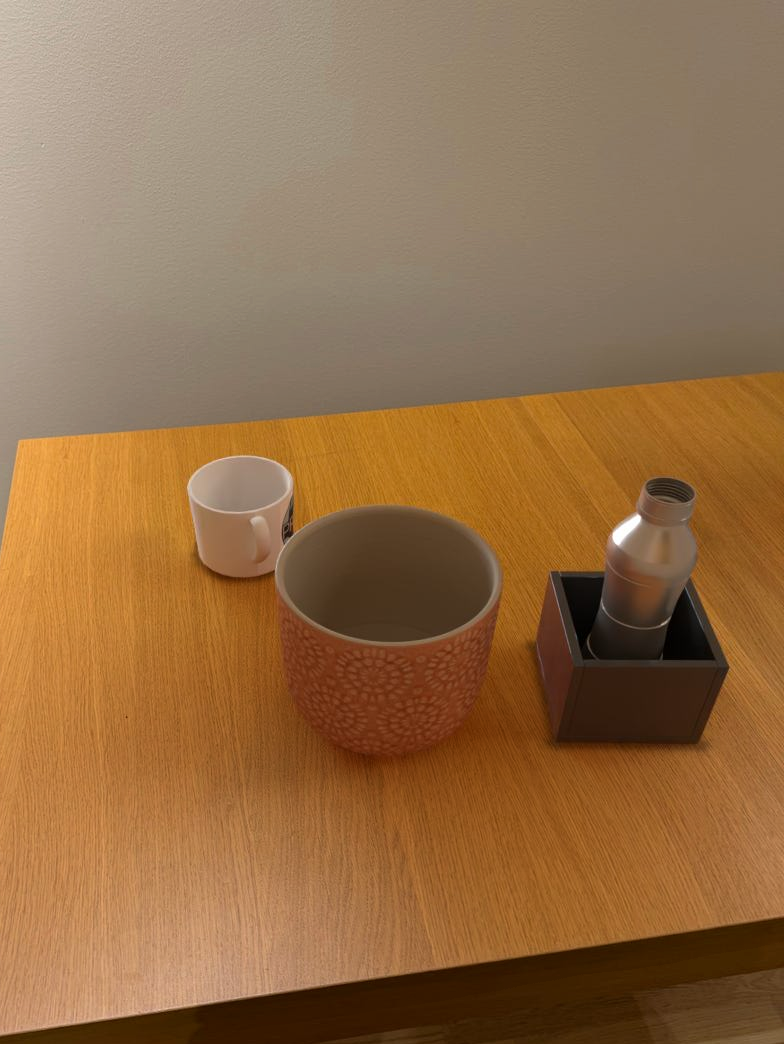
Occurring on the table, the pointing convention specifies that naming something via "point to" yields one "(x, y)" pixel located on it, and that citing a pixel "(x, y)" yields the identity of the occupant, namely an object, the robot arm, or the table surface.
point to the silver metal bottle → (644, 574)
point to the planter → (386, 625)
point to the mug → (241, 514)
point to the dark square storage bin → (625, 671)
